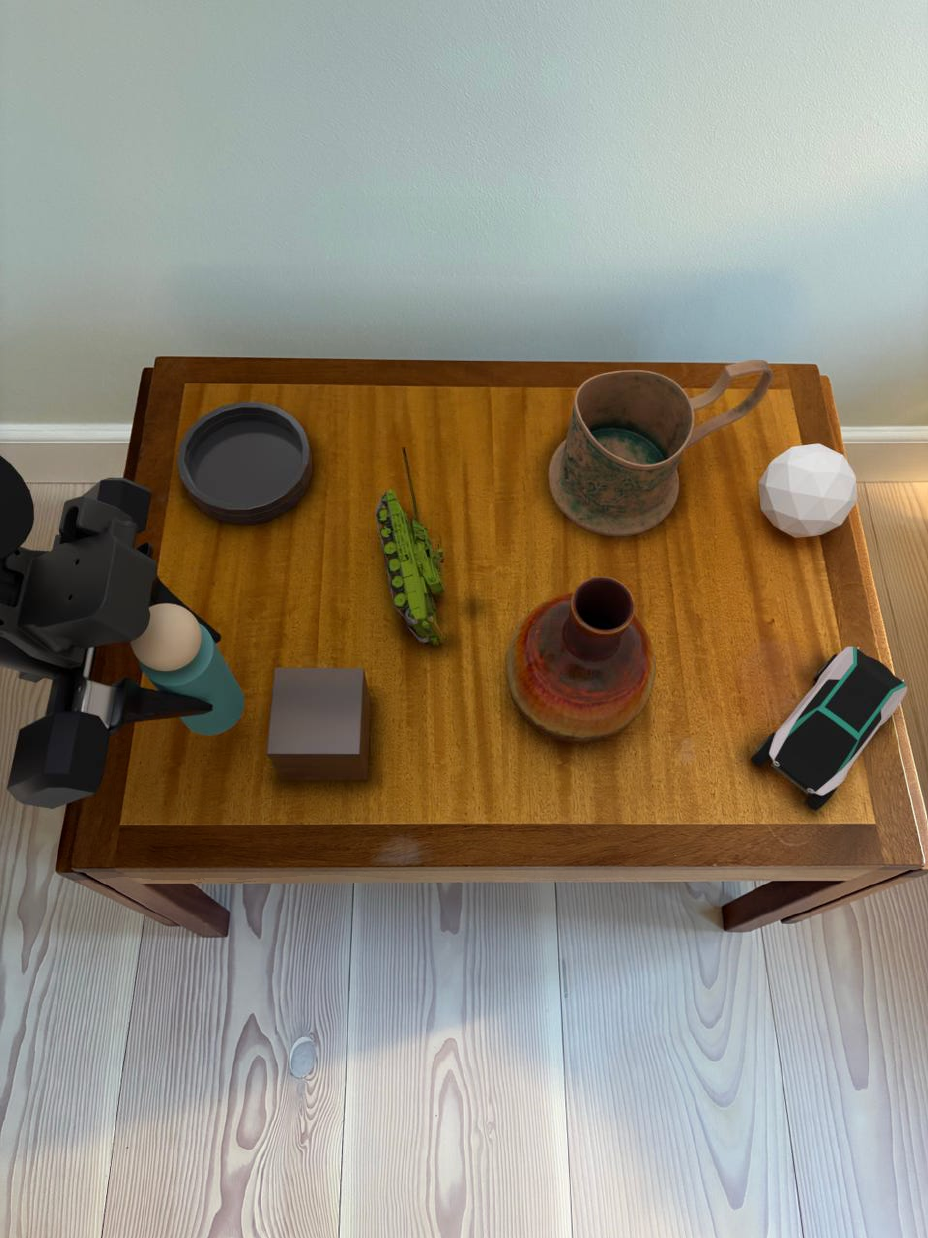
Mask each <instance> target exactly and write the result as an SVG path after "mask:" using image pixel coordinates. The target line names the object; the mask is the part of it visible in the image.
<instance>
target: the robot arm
mask: <svg viewBox="0 0 928 1238" xmlns="http://www.w3.org/2000/svg"><path fill="white" fill-rule="evenodd" d="M152 493H153V492H152V491H151V490H150V488H148V487H146V486H144V485H141V484H139V483H137V482H135V481H132V480H130V479H128V478H126V477H107V478H103V479H101V480H99V481H98V482H97V483H96V484H95V485H93V486H92V487H91V488H90V489H88V490H87V491H86V492H85V493H84V494H82V495H81V496H78V497H73V498H71V499H67V500H65V501H64V503H63V506H62V511H61V515H60V520H59V524H58V534H55V536H54V540H53V545H52V549H51V550H36V549H28V548H26V547H23V544H25V542H27V539H28V537H29V535H30V534H31V532H32V529H33V526H34V521H35V505H34V501H33V498H32V494H31V490H30V489H29V487H28V485H27V483H26V482H25V480H24V478H23V476H22V475H21V473H20V472H19V471H18V470H17V469H16V468H15V467H14V465H13V464H12V463H11V462H9V461H8V460H7V459H6V458H4V456H2V455H1V454H0V667H1V668H6V669H8V670H9V669H10V670H13V671H17V672H19V673H18V679H20V680H23V681H27V682H30V683H35V684H36V683H38V682H40V681H42V680H43V679H46V680H47V679H48V680H50V681H52V682H51V686H50V691H49V695H48V701H47V705H46V710H45V715H44V716H41V717H40V718H38V719H36V720H34V721H32V722H31V723H29V724H26V725H25V726H23V727H21V728H19V730H18V735H17V740H16V744H15V749H14V754H13V758H12V762H11V766H10V772H9V776H8V782H7V786H6V791H8V792H9V793H10V795H11V796H12V797H13V799H15V801H17V802H19V803H20V804H22V805H25V806H32V807H37V808H39V807H40V808H43V809H49V810H55V809H57V808H59V807H62V806H64V805H69V804H70V803H73V802H76V801H78V800H81V799H84V798H86V797H89V796H92V795H96V794H97V792H98V789H99V788H100V786H101V784H102V782H103V781H104V774H105V770H106V769H105V768H106V763H107V757H108V751H109V745H110V738H111V736H114V735H116V734H117V733H119V732H120V731H121V730H122V729H123V728H124V726H125V725H129V724H135V723H140V722H150V721H156V720H157V721H158V720H165V719H166V720H167V719H174V718H180V717H185V716H193V715H202V714H206V713H208V712H211V711H212V709H213V705H212V704H210V703H207V702H204V701H202V700H199V699H196V698H193V697H188V696H183V695H178V694H173V693H168V692H163V691H158V690H157V689H152V688H148V687H143V686H141V685H140V684H138V683H136V681H134V679H132V678H131V677H129V676H125V677H122V678H121V679H119V680H117V681H115V682H113V683H111V684H107V683H103V682H99V681H95V680H92V676H93V673H94V672H93V671H94V665H95V660H96V655H97V650H98V647H101V646H106V645H110V644H115V643H131V642H130V641H134V640H136V639H137V638H139V637H140V636H141V635H142V634H143V633H144V632H145V630H146V629H147V627H148V624H149V620H150V611H149V607H151V606H154V605H157V604H163V603H169V604H176V605H179V606H181V607H183V608H185V609H187V610H188V611H189V612H191V613H192V614H193V616H194V617H195V618H196V619H197V621H198V623H200V624H201V625H203V626H204V627H205V628H206V629H207V630H208V632H209V633H210V635H211V637H212V638H213V640H214V642H215V644H216V645H217V644H219V643H220V642H221V641H222V635H221V634H220V632H218V631H217V630H216V629H215V628H213V626H211V625H210V624H209V623H207V621H205V620H204V619H203V618H202V617H201V616H200V615H198V614H197V613H196V612H195V611H193V610H192V609H191V608H190V607H189V606H188V605H186V604H185V603H184V602H183V601H182V600H180V599H179V598H178V596H176V595H175V594H174V593H173V592H172V591H171V590H170V589H169V587H167V586H166V584H164V582H162V580H161V579H160V577H159V576H158V565H157V562H156V561H155V560H154V557H153V556H154V548H153V546H152V545H151V544H150V543H149V542H148V541H145V542H143V543H142V544H141V545H139V546H137V547H136V544H137V538H138V535H139V534H141V533H143V532H144V531H146V528H147V523H148V518H149V511H150V506H151V505H150V504H151V500H152Z"/></svg>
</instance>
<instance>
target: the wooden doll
mask: <svg viewBox="0 0 928 1238" xmlns="http://www.w3.org/2000/svg"><path fill="white" fill-rule="evenodd" d="M149 611H150V620H149V624H148V627H147V629H146V630H145V632H144V633H143V634H142V635H141V636H140V637H139V638H137V639H136V640H134V641H130V642H129V643H130V645H131V649H132V652H133V653H134V655H135V657H136V658H137V659H138V663H139V667H140V669H141V671H142V673H143V674H144V675H145V677H146V678H147V680H149V682H150V683H151V684H152V685H153V687H154V688H155V690H158V691H163V692H168V693H173V694H178V695H183V696H188V697H193V698H196V699H199V700H202V701H204V702H207V703H210V704H212V705H213V709H212V711H211V712H208V713H206V714H202V715H193V716H185V717H179V719H180V721H182V723H183V724H184V725H185V727H187V728H188V729H189V730H190V731H191V732H193V733H195V734H198V735H201V736H216V735H219V734H222V733H224V732H226V731H229V730H230V729H231V728H232V727H234V726H235V725H236V724H237V722H238V721H239V720H240V718H241V717H242V715H243V712H244V708H245V695H244V692H243V690H242V688H241V686H240V684H239V682H238V681H237V680H236V678H235V676H234V674H233V672H232V671H231V668H230V667H229V665H228V663H227V661H226V660H225V658H224V656H223V654H222V653H221V650H220V649H219V648H218V645H217V644H215V642H214V640H213V638H212V637H211V635H210V633H209V632H208V630H207V629H206V628H205V627H204V626H203V625H201V624H200V623H198V621H197V619H196V618H195V617H194V616H193V614H192V613H191V612H189V611H188V610H187V609H185V608H183V607H181V606H179V605H176V604H169V603H163V604H157V605H154V606H151V607H149Z"/></svg>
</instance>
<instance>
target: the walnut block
mask: <svg viewBox="0 0 928 1238" xmlns="http://www.w3.org/2000/svg"><path fill="white" fill-rule="evenodd" d="M271 689H272V690H271V698H270V699H271V700H270V710H269V721H268V722H269V723H268V733H267V741H266V756H267V757H268V759H269V760H270V763H271V764H272V765H273V767H274V769H275V771H276V772H277V774H278V775H279V776H280V778H281V780H282V781H290V782H291V781H298V782H301V781H309V782H310V781H311V782H312V781H313V782H315V781H317V782H318V781H319V782H321V781H322V782H323V781H325V782H327V781H328V782H329V781H330V782H333V781H334V782H340V781H341V782H367V781H368V780H369V779H368V778H369V754H370V736H371V735H370V732H371V731H370V730H371V712H372V711H371V710H372V700H371V696H370V690H369V686H368V681H367V675H366V672H365V668H363V667H274V668H273V680H272V688H271Z"/></svg>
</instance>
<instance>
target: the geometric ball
mask: <svg viewBox="0 0 928 1238" xmlns="http://www.w3.org/2000/svg"><path fill="white" fill-rule="evenodd" d="M757 484H758V495H759V504H760V505H759V506H760V511H761V512H762V513H763V515H764V516H765V517H766V518H767V520H768V521H769V522H770V523H771V525H772V526H773V527H775V528H777V529H778V530H780V531H781V532H784V534H787V535H789V536H791V537H793V538H794V539H797V538H807V537H815V536H822V535H824V534H826V533H829V532H830V531H832V530H835V529H836V528H838V527H840V526H842V524H843V523H844V521H845V520H846V519H847V517H848V515H849V514H850V512H851V511H852V509H853V508H854V506H855V505H856V503H857V502H858V486H857V485H858V484H857V476H856V474H855V472H854V470H853V469H852V467H851V465H850V463H848V461H847V459H846V458H845V456H844V454H841V453H839V452H838V451H836V450H833V449H831V448H830V447H827V446H825V445H823V444H822V443H811V444H804V445H795V446H791V447H790V448H788V449H787V450H785V451H784V452H782V453H781V454H780V455H778V456H776V457H775V458H773V459H772V460H771V461H770V462H769V464H768V466H767V467H766V468H765V470H764V472H763V474H762V475H761V477H760V479H759V480H758V483H757Z"/></svg>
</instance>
